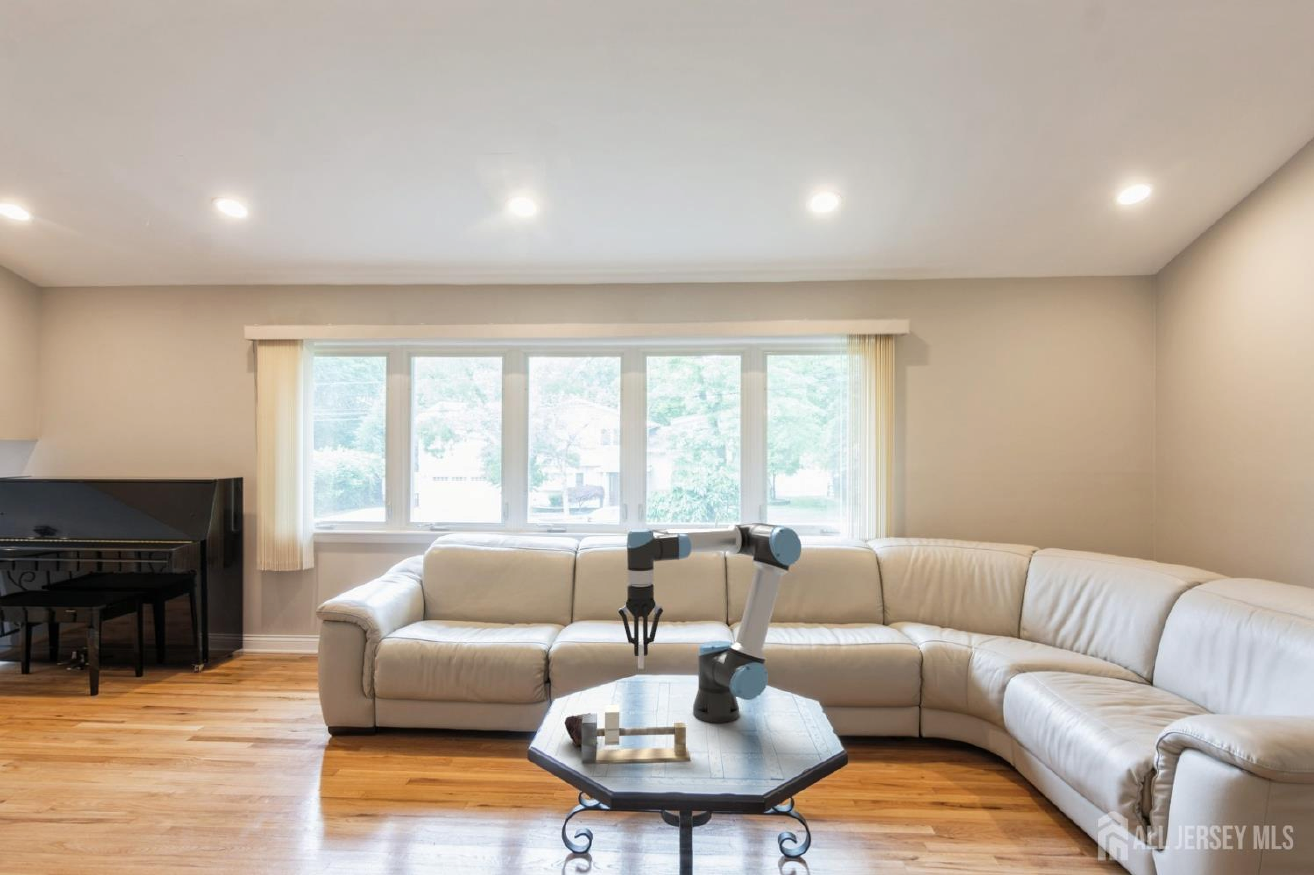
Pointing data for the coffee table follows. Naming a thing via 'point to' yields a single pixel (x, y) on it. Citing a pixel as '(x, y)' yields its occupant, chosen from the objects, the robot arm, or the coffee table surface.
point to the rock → (575, 728)
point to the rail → (632, 755)
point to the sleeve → (611, 724)
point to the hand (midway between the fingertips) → (641, 666)
